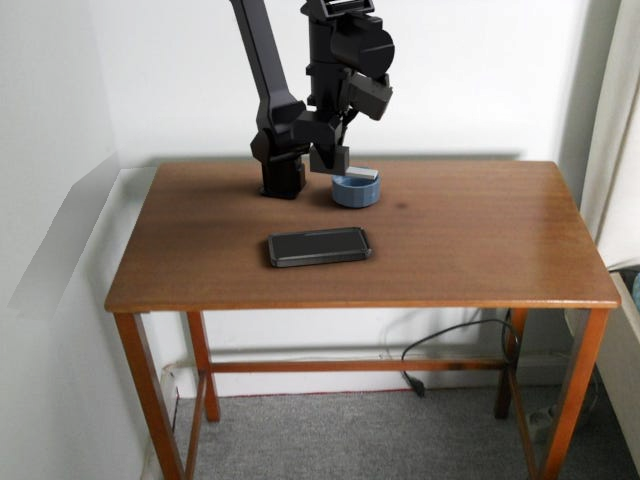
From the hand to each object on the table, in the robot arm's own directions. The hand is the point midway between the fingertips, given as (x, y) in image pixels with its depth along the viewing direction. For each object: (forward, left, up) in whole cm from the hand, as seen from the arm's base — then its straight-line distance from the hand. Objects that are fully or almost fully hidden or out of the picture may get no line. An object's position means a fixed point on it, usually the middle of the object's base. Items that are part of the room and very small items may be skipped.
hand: (332, 164), depth 101 cm
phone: (0, -8, -11) cm, 13 cm away
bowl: (+1, +10, -11) cm, 15 cm away
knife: (+2, 0, -1) cm, 2 cm away
